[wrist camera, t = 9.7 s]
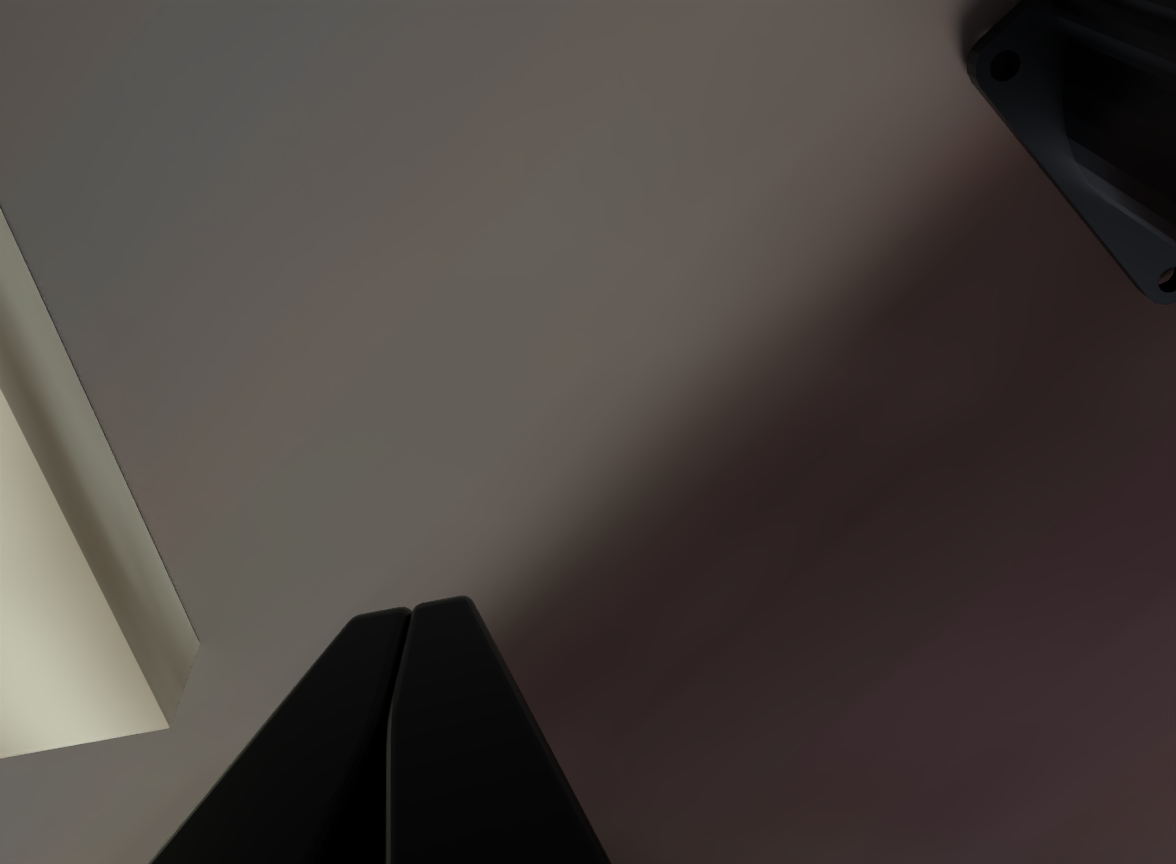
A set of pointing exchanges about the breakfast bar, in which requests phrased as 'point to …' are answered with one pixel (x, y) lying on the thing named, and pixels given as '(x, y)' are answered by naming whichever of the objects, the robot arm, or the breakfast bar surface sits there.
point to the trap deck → (72, 555)
